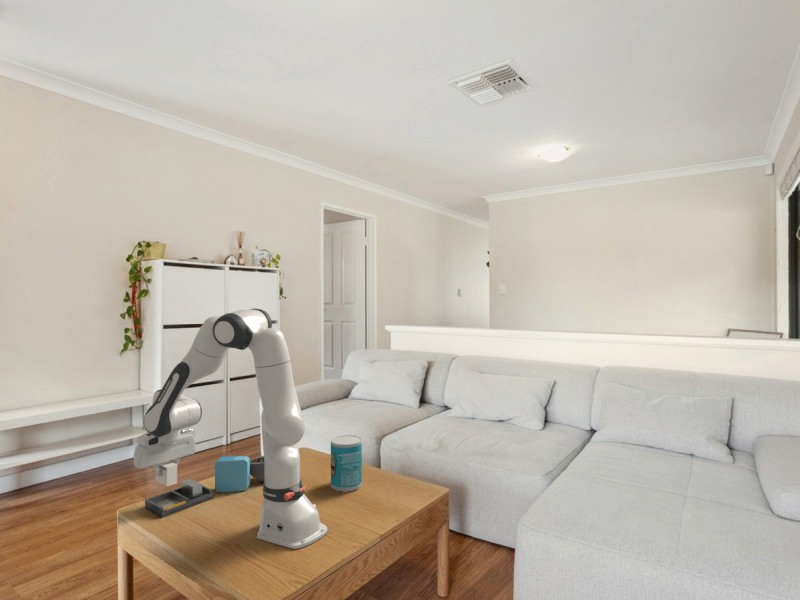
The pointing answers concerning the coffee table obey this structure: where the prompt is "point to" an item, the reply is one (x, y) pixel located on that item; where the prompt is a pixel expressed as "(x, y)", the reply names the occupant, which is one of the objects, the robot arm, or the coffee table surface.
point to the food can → (346, 463)
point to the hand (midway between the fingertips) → (166, 473)
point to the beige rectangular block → (167, 473)
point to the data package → (232, 474)
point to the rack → (178, 498)
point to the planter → (257, 468)
